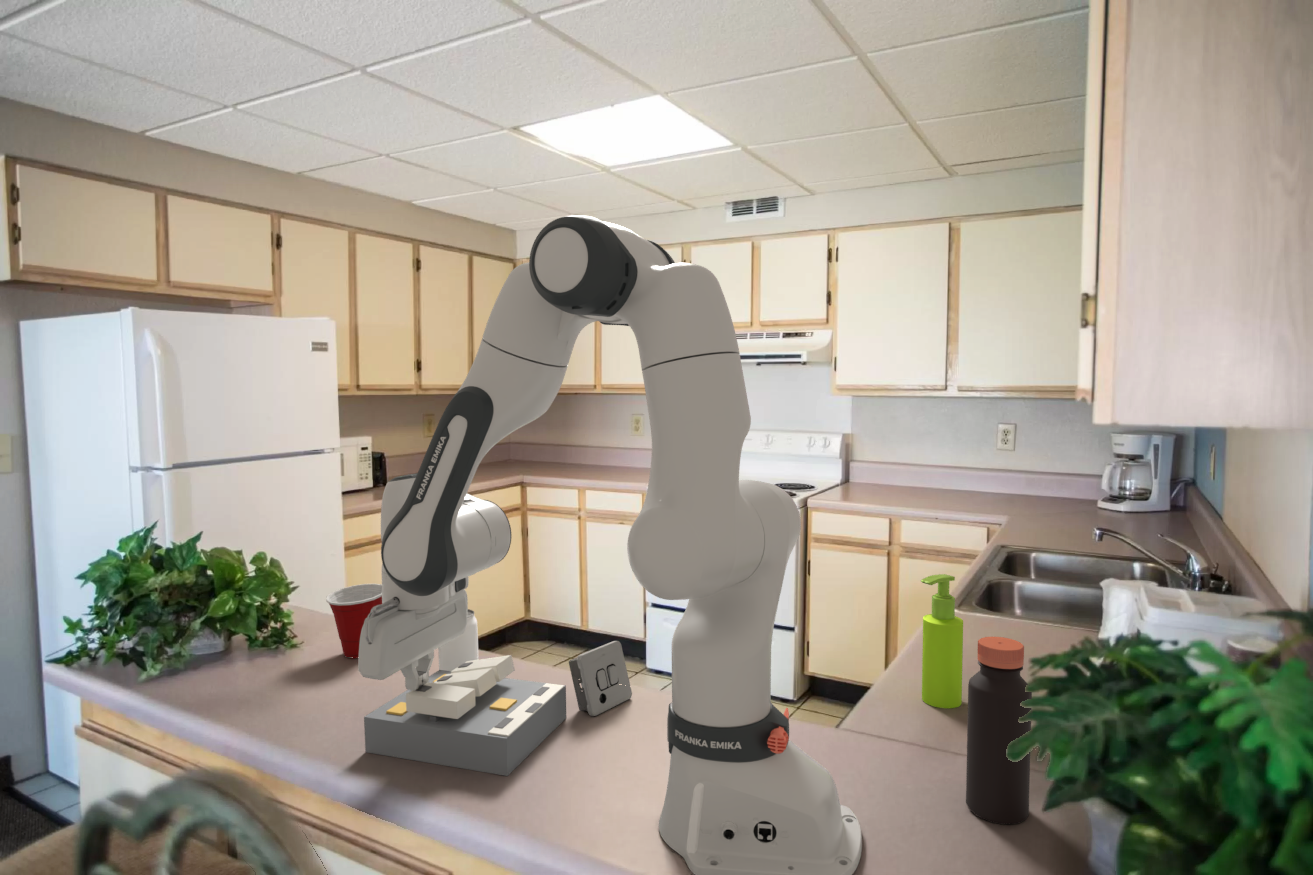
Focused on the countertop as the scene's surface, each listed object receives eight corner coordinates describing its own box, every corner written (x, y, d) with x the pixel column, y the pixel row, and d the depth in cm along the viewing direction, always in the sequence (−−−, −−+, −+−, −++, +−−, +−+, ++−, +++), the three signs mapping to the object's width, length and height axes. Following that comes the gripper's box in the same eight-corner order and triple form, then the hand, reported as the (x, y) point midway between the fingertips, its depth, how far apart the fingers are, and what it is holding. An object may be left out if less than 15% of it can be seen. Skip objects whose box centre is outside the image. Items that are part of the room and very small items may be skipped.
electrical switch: (593, 719, 116) (587, 657, 116) (568, 713, 120) (563, 653, 120) (633, 698, 124) (628, 641, 124) (609, 693, 127) (604, 637, 127)
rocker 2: (496, 683, 112) (492, 666, 112) (480, 696, 108) (476, 678, 108) (450, 689, 115) (446, 673, 115) (432, 701, 111) (428, 684, 111)
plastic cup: (316, 656, 144) (313, 592, 144) (368, 639, 153) (366, 580, 152) (349, 668, 138) (346, 602, 137) (401, 651, 146) (399, 588, 146)
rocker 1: (475, 705, 107) (475, 687, 107) (457, 719, 103) (457, 700, 103) (426, 698, 110) (425, 680, 110) (406, 711, 106) (405, 693, 105)
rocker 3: (514, 670, 118) (511, 653, 118) (500, 681, 113) (496, 664, 113) (470, 676, 120) (466, 660, 120) (454, 687, 116) (450, 670, 116)
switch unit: (566, 717, 117) (565, 680, 116) (507, 775, 100) (506, 733, 99) (440, 700, 124) (439, 665, 123) (365, 751, 107) (363, 711, 106)
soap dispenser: (908, 698, 122) (910, 574, 121) (940, 690, 125) (942, 568, 124) (937, 712, 117) (940, 583, 116) (969, 703, 120) (972, 577, 119)
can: (470, 691, 127) (467, 620, 126) (432, 689, 128) (430, 618, 127) (484, 676, 133) (482, 608, 132) (449, 674, 134) (447, 607, 134)
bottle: (959, 814, 90) (963, 646, 88) (972, 788, 96) (975, 630, 94) (1023, 832, 86) (1028, 657, 85) (1033, 804, 92) (1037, 639, 90)
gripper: (386, 613, 96) (388, 721, 97) (475, 572, 115) (475, 663, 116) (344, 608, 97) (346, 713, 99) (438, 568, 117) (439, 657, 118)
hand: (417, 686), depth 108 cm, fingers closed, pressing on rocker 1
